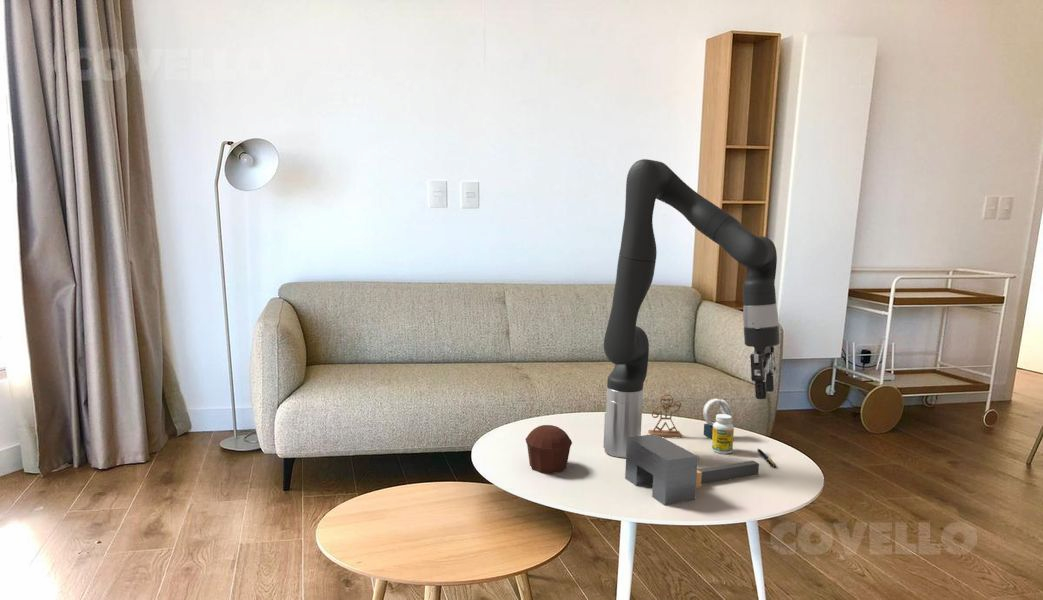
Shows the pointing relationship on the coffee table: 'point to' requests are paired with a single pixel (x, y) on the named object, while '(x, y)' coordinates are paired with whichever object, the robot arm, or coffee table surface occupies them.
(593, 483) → the coffee table surface
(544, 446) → the muffin
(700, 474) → the plug
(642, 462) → the bridge-shaped block
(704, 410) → the watch
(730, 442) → the supplement bottle
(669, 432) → the gingerbread man figurine
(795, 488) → the coffee table surface
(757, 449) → the fountain pen
